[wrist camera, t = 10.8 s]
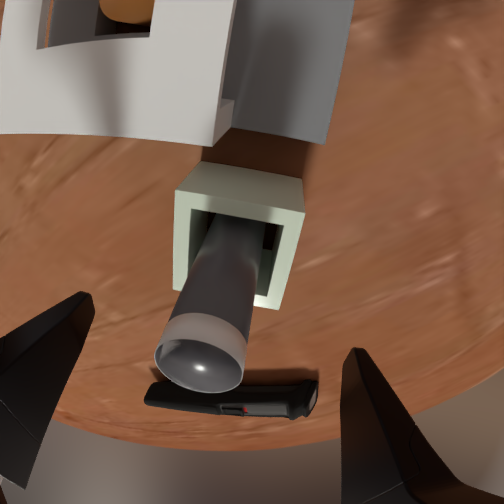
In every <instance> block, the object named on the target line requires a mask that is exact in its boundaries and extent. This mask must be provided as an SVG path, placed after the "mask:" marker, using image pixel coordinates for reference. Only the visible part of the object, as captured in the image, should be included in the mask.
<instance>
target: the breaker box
mask: <svg viewBox="0 0 504 504" xmlns="http://www.w3.org/2000/svg"><path fill="white" fill-rule="evenodd" d="M50 1H51V0H6V3H5V9H4V15H3V22H2V30H1V40H0V134H27V133H40V134H81V135H100V136H116V137H129V138H140V139H151V140H161V141H170V142H178V143H186V144H194V145H202V146H209V147H212V146H213V145H214V144H215V143H216V142H217V141H218V140H219V139H220V138H221V137H222V136H223V135H224V134H225V133H226V132H227V131H228V130H229V128H230V127H232V128H239V129H245V130H251V131H257V132H263V133H269V134H274V135H279V136H284V137H290V138H294V139H299V140H304V141H309V142H313V143H318V144H322V145H325V141H326V137H327V133H328V128H329V124H330V120H331V115H332V111H333V106H334V102H335V97H336V93H337V88H338V83H339V79H340V74H341V69H342V64H343V59H344V54H345V49H346V44H347V39H348V34H349V28H350V23H351V18H352V12H353V7H354V1H355V0H155V3H154V9H153V16H152V22H151V29H150V32H146V33H125V34H115V33H116V25H117V21H115V20H112V19H110V18H108V17H107V16H106V15H105V14H104V13H103V12H102V10H101V7H100V3H99V0H54V3H53V9H52V16H51V23H50V31H49V41H48V48H44V47H45V37H46V28H47V20H48V13H49V7H50Z"/></svg>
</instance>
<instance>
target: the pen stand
mask: <svg viewBox="0 0 504 504" xmlns="http://www.w3.org/2000/svg"><path fill="white" fill-rule="evenodd" d="M209 212H215V213H220V214H226V215H231V216H237V217H242V218H248V219H253V220H258V221H264V222H269V223H274V224H278V226H277V230H276V235H275V239H274V244H273V248H272V250H267V249H262V253H261V259H260V266H259V272H258V279H257V285H256V292H255V298H254V306H259V307H264V308H270V309H276V310H279V307H280V304H281V301H282V297H283V294H284V290H285V287H286V283H287V279H288V276H289V272H290V269H291V265H292V261H293V258H294V254H295V250H296V247H297V243H298V239H299V235H300V232H301V228H302V224H303V220H304V216H305V205H304V195H303V185H302V179H300V178H295V177H290V176H285V175H280V174H275V173H269V172H264V171H259V170H253V169H248V168H242V167H236V166H230V165H224V164H217V163H211V162H204V161H200V162H199V163H198V164H197V165H196V167H195V168H194V169H193V170H192V171H191V172H190V173H189V175H188V176H187V177H186V178H185V179H184V180H183V182H182V183H181V184H180V185H179V186H178V187H177V189H176V190H175V208H174V239H173V289H174V290H179V291H181V290H182V288H183V286H184V284H185V281H186V279H187V277H188V274H189V272H190V270H191V268H192V265H193V263H194V261H195V259H196V256H197V254H198V252H199V250H200V248H201V245H202V243H203V241H204V239H205V237H206V234H207V223H208V213H209Z"/></svg>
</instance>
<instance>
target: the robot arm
mask: <svg viewBox="0 0 504 504" xmlns="http://www.w3.org/2000/svg"><path fill="white" fill-rule="evenodd" d="M94 315H95V308H94V304H93V300H92V296H91V294H89V293H87V292H83V291H79V292H77V293H76V294H74V295H72V296H70V297H69V298H67V299H65V300H63V301H62V302H60V303H58V304H56V305H55V306H53V307H51V308H50V309H48V310H46V311H45V312H43V313H41V314H39V315H38V316H36V317H34V318H33V319H31V320H29V321H28V322H26V323H24V324H23V325H21V326H19V327H18V328H16V329H14V330H13V331H11V332H10V333H8V334H6V336H3V337H1V338H0V484H1V482H2V479H3V477H4V478H5V479H7V480H9V481H10V482H12V483H14V484H15V485H17V486H19V487H20V488H22V489H24V490H25V488H26V486H27V483H28V480H29V477H30V474H31V471H32V468H33V465H34V462H35V460H36V457H37V454H38V451H39V449H40V446H41V443H42V440H43V438H44V435H45V433H46V430H47V427H48V425H49V422H50V420H51V418H52V415H53V413H54V410H55V408H56V406H57V403H58V401H59V399H60V396H61V394H62V392H63V390H64V387H65V385H66V383H67V381H68V378H69V376H70V374H71V372H72V370H73V368H74V366H75V363H76V361H77V359H78V357H79V355H80V353H81V351H82V348H83V345H84V343H85V340H86V337H87V334H88V332H89V329H90V326H91V324H92V321H93V319H94ZM340 422H341V477H342V478H341V504H504V498H503V497H500V496H497V495H494V494H491V493H488V492H485V491H482V490H479V489H477V488H474V487H471V486H468V485H466V484H464V483H463V482H461V481H460V480H459V479H457V478H456V477H455V476H454V474H453V473H452V472H451V471H450V469H449V468H448V467H447V466H446V465H445V463H444V462H443V461H442V459H441V458H440V457H439V456H438V454H437V453H436V452H435V451H434V449H433V448H432V447H431V445H430V444H429V443H428V441H427V440H426V438H425V437H424V435H423V434H422V433H421V431H420V430H419V428H418V426H417V425H415V422H414V421H413V419H412V417H411V416H410V414H409V413H408V411H407V410H406V408H405V407H404V405H403V404H402V402H401V401H400V399H399V398H398V396H397V395H396V394H395V392H394V391H393V389H392V388H391V386H390V385H389V383H388V382H387V380H386V379H385V377H384V376H383V374H382V373H381V371H380V370H379V369H378V367H377V366H376V364H375V363H374V361H373V360H372V358H371V357H370V356H369V354H368V353H367V351H366V350H365V349H363V348H357V347H354V348H352V349H351V351H350V352H349V354H348V356H347V358H346V359H345V361H344V363H343V368H342V385H341V399H340ZM0 504H7V502H6V499H5V497H4V494H3V491H2V488H1V485H0Z"/></svg>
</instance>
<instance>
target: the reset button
mask: <svg viewBox="0 0 504 504" xmlns="http://www.w3.org/2000/svg"><path fill="white" fill-rule="evenodd" d="M99 3H100V7H101V10H102V12H103V13H104V14H105V15H106V16H107V17H108V18H110V19H112V20H115V21H120V22H126V23H131V24H136V25H141V26H151V22H152V16H153V9H154V3H155V0H99Z"/></svg>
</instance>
